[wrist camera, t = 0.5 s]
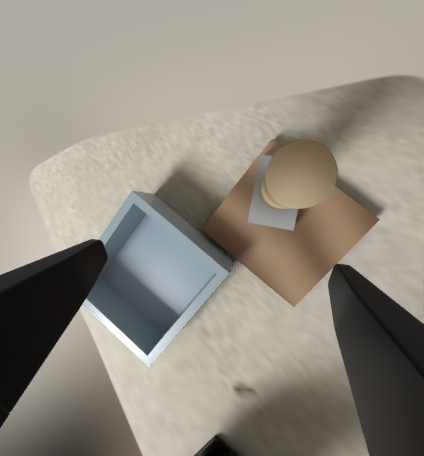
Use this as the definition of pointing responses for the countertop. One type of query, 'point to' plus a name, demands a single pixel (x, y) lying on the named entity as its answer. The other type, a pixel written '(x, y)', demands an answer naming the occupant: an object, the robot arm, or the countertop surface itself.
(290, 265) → the far plate
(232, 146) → the countertop surface
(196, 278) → the box
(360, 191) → the countertop surface
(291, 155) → the rubber stamp
